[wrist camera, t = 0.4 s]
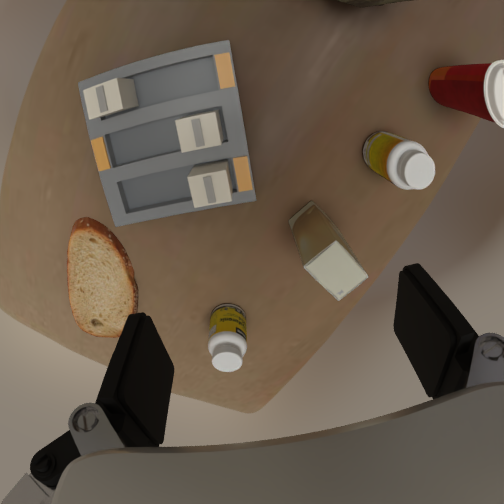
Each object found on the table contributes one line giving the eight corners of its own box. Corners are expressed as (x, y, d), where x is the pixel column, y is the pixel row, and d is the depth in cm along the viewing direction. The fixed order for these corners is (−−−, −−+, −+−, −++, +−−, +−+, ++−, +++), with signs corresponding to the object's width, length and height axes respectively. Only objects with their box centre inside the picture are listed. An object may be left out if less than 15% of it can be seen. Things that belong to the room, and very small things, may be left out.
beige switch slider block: (103, 89, 31) (81, 90, 26) (133, 79, 30) (115, 77, 25) (108, 115, 32) (87, 120, 27) (138, 105, 32) (121, 108, 27)
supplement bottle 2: (360, 171, 38) (395, 197, 29) (361, 129, 36) (399, 143, 27) (397, 171, 39) (438, 196, 30) (399, 131, 36) (443, 146, 27)
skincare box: (339, 229, 42) (371, 278, 32) (316, 250, 44) (339, 303, 33) (310, 197, 40) (337, 239, 29) (285, 219, 41) (302, 268, 30)
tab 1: (184, 116, 33) (174, 120, 28) (218, 109, 33) (214, 112, 28) (189, 144, 35) (181, 153, 30) (223, 137, 35) (221, 145, 30)
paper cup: (458, 120, 35) (527, 141, 22) (417, 103, 34) (487, 116, 22) (466, 71, 31) (536, 78, 19) (426, 51, 30) (495, 47, 18)
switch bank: (87, 82, 31) (76, 82, 28) (229, 43, 30) (229, 39, 28) (122, 218, 40) (114, 227, 37) (255, 193, 39) (256, 201, 37)
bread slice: (88, 206, 39) (77, 216, 36) (176, 291, 46) (172, 307, 43) (34, 274, 44) (24, 286, 41) (109, 341, 51) (104, 356, 48)
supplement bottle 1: (252, 310, 48) (255, 357, 39) (235, 333, 50) (235, 380, 42) (220, 297, 47) (217, 343, 38) (204, 321, 49) (200, 368, 40)
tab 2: (194, 165, 36) (186, 178, 31) (227, 159, 36) (225, 170, 31) (200, 192, 38) (194, 208, 32) (232, 186, 37) (231, 202, 32)
